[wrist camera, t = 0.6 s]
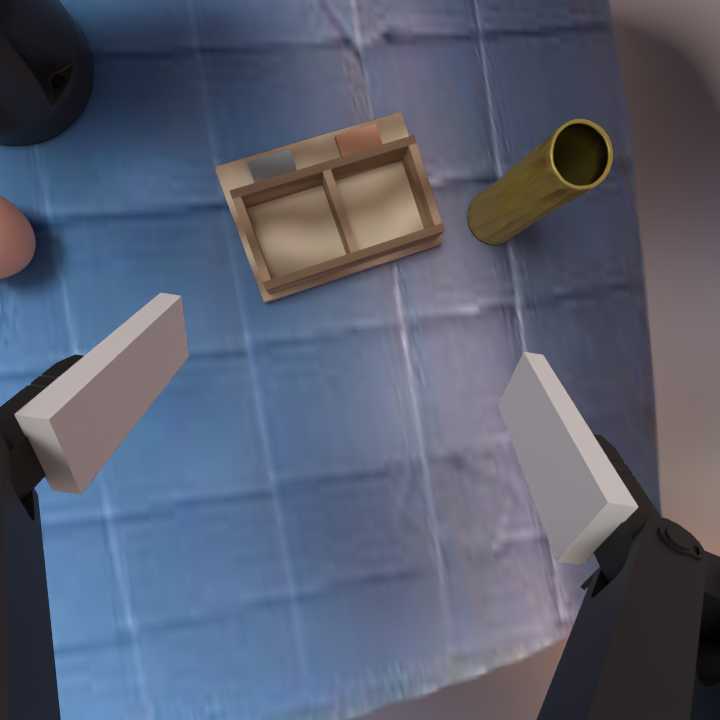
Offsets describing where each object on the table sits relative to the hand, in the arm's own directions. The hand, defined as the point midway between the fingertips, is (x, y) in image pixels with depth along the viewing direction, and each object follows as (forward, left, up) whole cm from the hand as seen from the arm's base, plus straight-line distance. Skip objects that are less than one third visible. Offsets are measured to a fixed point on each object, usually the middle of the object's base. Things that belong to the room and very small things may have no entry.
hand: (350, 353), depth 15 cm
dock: (-14, +5, -26) cm, 30 cm away
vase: (-8, +22, -26) cm, 35 cm away
